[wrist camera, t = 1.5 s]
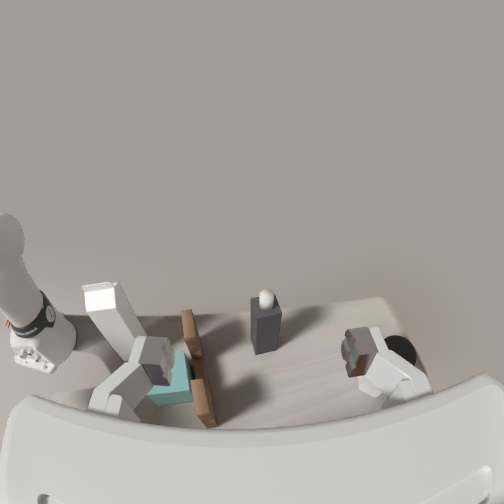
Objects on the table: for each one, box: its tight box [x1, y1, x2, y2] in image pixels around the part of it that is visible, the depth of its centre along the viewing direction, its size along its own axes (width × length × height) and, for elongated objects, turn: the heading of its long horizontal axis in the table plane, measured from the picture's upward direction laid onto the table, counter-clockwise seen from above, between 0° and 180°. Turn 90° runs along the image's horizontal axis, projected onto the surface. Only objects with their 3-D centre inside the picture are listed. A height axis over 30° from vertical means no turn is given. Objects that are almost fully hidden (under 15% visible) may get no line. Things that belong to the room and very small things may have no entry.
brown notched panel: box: [181, 310, 218, 428], centre depth 45 cm, size 2×20×12 cm, turn 14°
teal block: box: [147, 351, 194, 406], centre depth 46 cm, size 8×8×7 cm
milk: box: [82, 282, 147, 361], centre depth 46 cm, size 6×6×22 cm
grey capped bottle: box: [251, 289, 282, 355], centre depth 50 cm, size 4×4×17 cm
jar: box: [358, 335, 416, 398], centre depth 44 cm, size 9×8×12 cm
